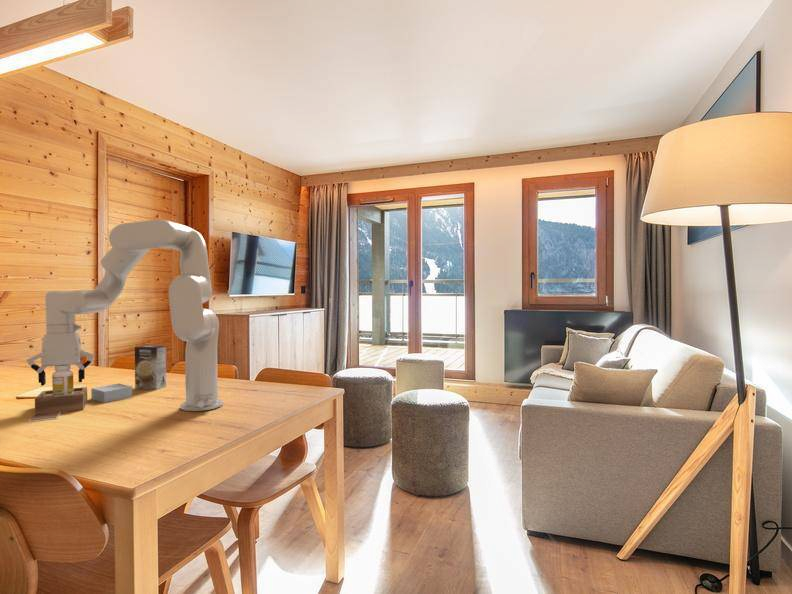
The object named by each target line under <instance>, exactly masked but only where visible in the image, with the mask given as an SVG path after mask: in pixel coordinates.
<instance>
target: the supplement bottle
mask: <svg viewBox="0 0 792 594" xmlns="http://www.w3.org/2000/svg"><path fill="white" fill-rule="evenodd" d="M51 375H52V376H51V380H52V382H51V383H52V390H53V396H54V397H58V396H68V395H72V394H73V393H74V389H73V388H74V372H73V371H72V370H71V365H62V366H54V372H53V373H52V374H51Z"/></svg>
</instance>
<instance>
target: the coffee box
mask: <svg viewBox="0 0 792 594" xmlns="http://www.w3.org/2000/svg"><path fill="white" fill-rule="evenodd" d="M166 386H167V345H165V344H163V345H162V344H142V345H138V346H137V345H136V346H134V389H135V390H153V391H154V390H155V391H156V390H159V389H162V388H164V387H166Z"/></svg>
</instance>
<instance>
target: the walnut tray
mask: <svg viewBox="0 0 792 594" xmlns="http://www.w3.org/2000/svg"><path fill="white" fill-rule="evenodd" d="M73 389H74V393H73V394H72V395H68V396H58V397H54V396H53V389H52V390H51V389H50V390H42V391H41V392H40V393H39V394H38V395H37V396H36V398H35V399H34V414H43V413H52V412H61V413H67V412H77V411H84V409H85V407H86V405H87V403H88V387H87V386H84V387H83V386H81V387H73Z"/></svg>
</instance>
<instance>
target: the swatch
mask: <svg viewBox="0 0 792 594" xmlns="http://www.w3.org/2000/svg"><path fill="white" fill-rule="evenodd" d="M61 413H62V412H52V413H43V414H35V413H34V414H33V415H32V416H30V418H29V420H27V422H28V423H30V422H38V421H39V422H40V421H47V420H48V421H49V420H55V419H56V420H57V419H58V418H59V417H60V415H61Z"/></svg>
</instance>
